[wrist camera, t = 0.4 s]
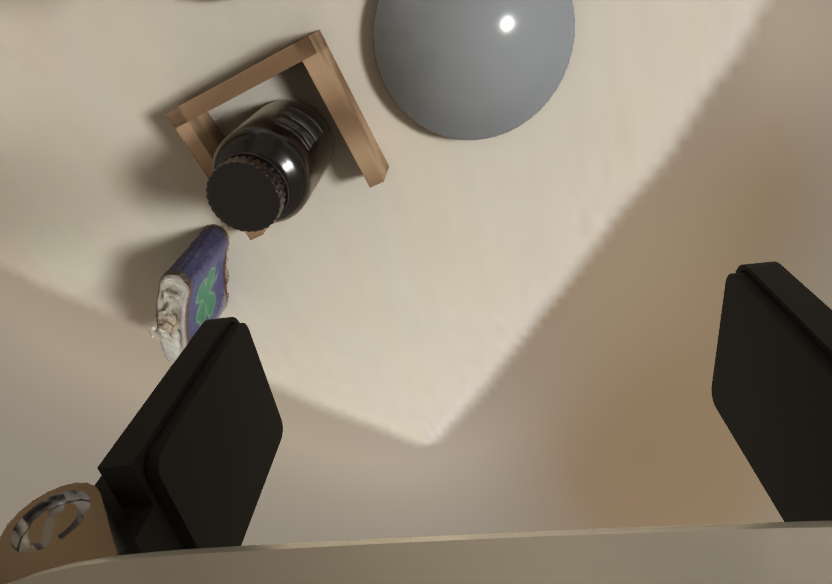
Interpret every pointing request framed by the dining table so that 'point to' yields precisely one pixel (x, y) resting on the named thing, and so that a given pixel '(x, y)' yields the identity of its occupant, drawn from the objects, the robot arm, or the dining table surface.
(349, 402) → the dining table surface
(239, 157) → the supplement bottle
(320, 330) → the dining table surface
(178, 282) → the flask
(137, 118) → the dining table surface
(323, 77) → the brown wooden arch piece
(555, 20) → the plate
